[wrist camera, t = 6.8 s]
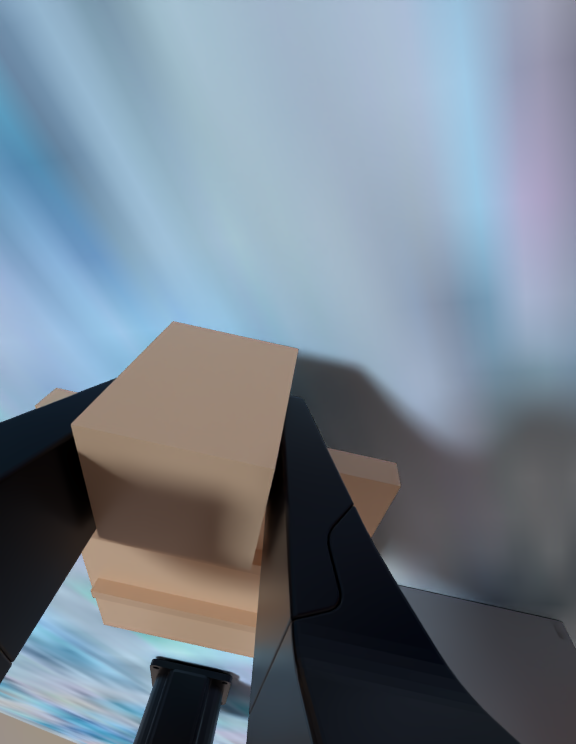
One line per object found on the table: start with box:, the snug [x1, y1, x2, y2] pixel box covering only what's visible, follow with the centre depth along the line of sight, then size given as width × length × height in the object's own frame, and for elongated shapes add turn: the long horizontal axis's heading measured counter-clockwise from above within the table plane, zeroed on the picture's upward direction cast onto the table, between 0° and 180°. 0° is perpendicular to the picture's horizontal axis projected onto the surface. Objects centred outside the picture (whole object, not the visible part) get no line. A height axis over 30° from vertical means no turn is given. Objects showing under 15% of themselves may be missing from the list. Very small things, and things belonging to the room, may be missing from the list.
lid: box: [35, 321, 401, 658], centre depth 11 cm, size 17×10×4 cm, turn 169°
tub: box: [398, 585, 576, 744], centre depth 18 cm, size 14×9×5 cm, turn 169°
